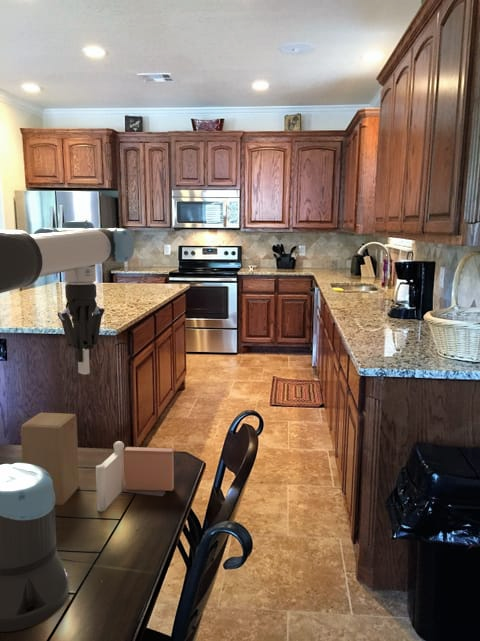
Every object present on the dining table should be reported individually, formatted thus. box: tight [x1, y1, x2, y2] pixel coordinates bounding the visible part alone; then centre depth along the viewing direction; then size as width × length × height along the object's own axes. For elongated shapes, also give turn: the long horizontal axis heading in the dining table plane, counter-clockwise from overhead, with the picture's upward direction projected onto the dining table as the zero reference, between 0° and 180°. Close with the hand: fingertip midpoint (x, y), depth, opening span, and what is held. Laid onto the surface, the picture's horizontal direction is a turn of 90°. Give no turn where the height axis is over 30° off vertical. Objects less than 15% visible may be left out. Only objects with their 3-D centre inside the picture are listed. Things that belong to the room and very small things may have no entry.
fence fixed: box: [95, 440, 125, 512], centre depth 120 cm, size 12×3×13 cm, turn 169°
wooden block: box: [20, 412, 80, 506], centre depth 121 cm, size 10×10×20 cm
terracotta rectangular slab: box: [123, 446, 175, 492], centre depth 125 cm, size 12×2×10 cm, turn 87°
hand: (84, 373), depth 130 cm, fingers closed
